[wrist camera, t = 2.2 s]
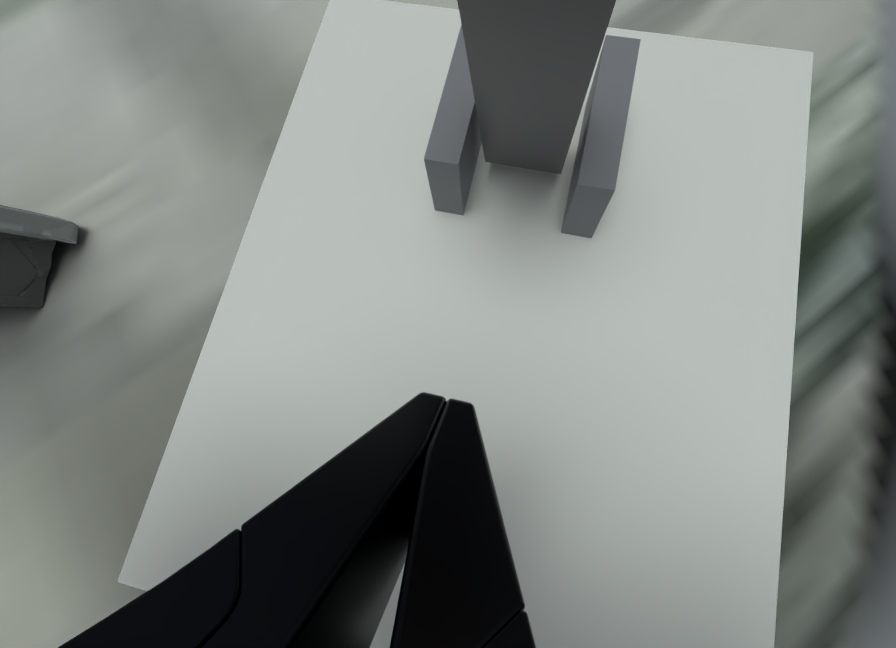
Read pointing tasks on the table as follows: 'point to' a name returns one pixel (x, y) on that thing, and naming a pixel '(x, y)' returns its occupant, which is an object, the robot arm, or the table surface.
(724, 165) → the thin white panel
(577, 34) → the handle
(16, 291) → the electrical switch
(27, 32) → the table surface
